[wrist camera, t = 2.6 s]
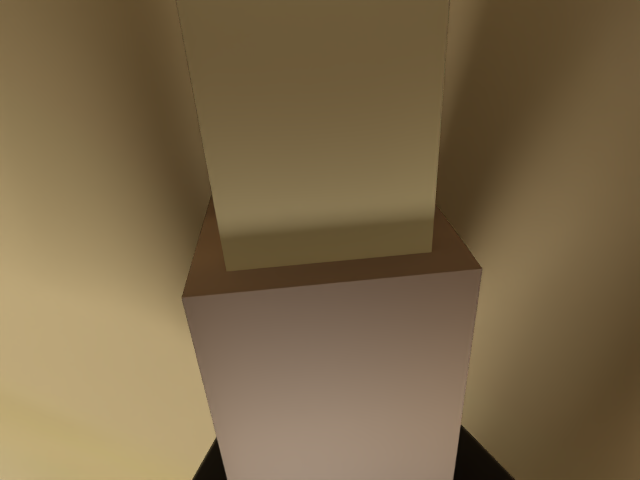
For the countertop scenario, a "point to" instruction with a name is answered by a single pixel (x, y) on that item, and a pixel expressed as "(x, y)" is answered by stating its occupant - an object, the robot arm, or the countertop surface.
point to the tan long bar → (327, 240)
